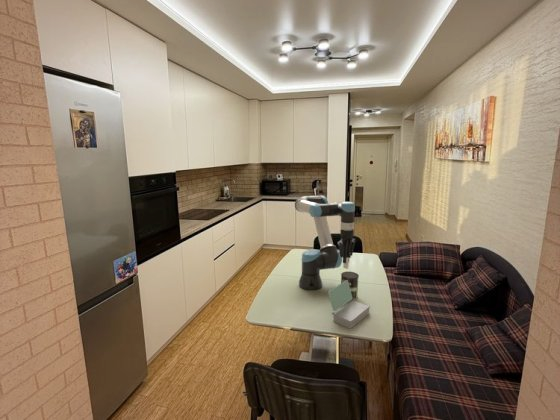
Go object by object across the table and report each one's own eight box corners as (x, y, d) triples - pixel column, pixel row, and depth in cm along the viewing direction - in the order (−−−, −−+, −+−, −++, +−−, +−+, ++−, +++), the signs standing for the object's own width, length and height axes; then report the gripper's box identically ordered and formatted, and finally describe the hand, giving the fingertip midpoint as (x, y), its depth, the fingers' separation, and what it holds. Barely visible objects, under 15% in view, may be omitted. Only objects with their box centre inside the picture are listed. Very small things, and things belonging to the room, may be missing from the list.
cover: (334, 311, 157) (332, 311, 158) (352, 298, 170) (350, 298, 171) (329, 291, 157) (327, 291, 158) (347, 280, 171) (345, 280, 172)
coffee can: (351, 302, 177) (352, 279, 174) (337, 296, 184) (337, 274, 182) (361, 296, 184) (362, 274, 182) (346, 291, 191) (347, 270, 189)
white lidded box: (332, 321, 157) (332, 312, 156) (352, 306, 173) (352, 298, 172) (350, 329, 150) (350, 320, 149) (369, 312, 166) (370, 304, 165)
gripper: (343, 231, 167) (341, 272, 172) (360, 228, 174) (358, 267, 178) (334, 229, 174) (333, 268, 178) (350, 226, 180) (349, 263, 185)
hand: (345, 267), depth 178 cm, fingers closed
